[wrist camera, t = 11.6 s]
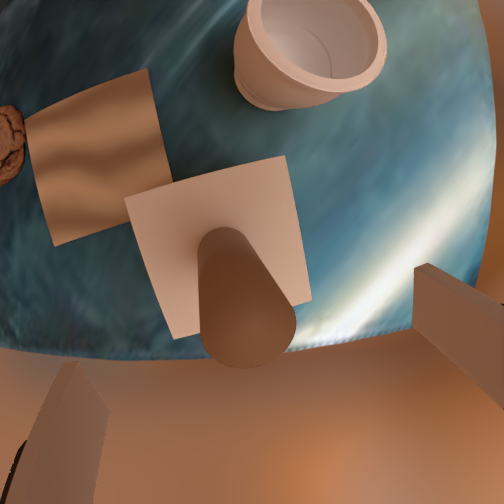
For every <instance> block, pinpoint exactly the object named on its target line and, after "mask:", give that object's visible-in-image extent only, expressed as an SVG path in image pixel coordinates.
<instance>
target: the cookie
mask: <svg viewBox="0 0 504 504" xmlns="http://www.w3.org/2000/svg"><path fill="white" fill-rule="evenodd" d="M23 122H24V120H23V116H22V112H20V111H18V110H16V108H15V107H14V106H10V105H8V106H2V107H0V187H1V186H2V185H4V184H5V183H8V182H9V181H10V180H12V179H13V178H14V177H15V176H16V175H17V174H18V173H19V172H20V170H21V168H22V164H23V163H24V148H23V147H24V143H27V140H26V128H25V124H23Z"/></svg>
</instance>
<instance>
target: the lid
mask: <svg viewBox="0 0 504 504" xmlns="http://www.w3.org/2000/svg"><path fill="white" fill-rule="evenodd" d="M124 200H125V204H126V207H127V210H128V214H129V217H130V220H131V224H132V227H133V230H134V233H135V236H136V240H137V243H138V246H139V249H140V252H141V255H142V258H143V260H144V263H145V266H146V269H147V272H148V275H149V277H150V280H151V283H152V286H153V288H154V291H155V294H156V296H157V299H158V302H159V304H160V307H161V309H162V312H163V314H164V317H165V319H166V322H167V324H168V327H169V329H170V331H171V334H172V336H173V339H178V338H182V337H186V336H190V335H194V334H197V333H200V336H201V341H202V344H203V346H204V348H205V349H206V351H207V352H208V354H209V355H210V356H211V357H212V358H214V359H215V360H216V361H218V362H220V363H221V364H224V365H226V366H229V367H233V368H241V369H246V368H255V367H259V366H262V365H265V364H267V363H269V362H271V361H273V360H274V359H276V358H277V357H279V356H280V355H281V354H282V353H283V352H284V351H285V350H286V349H287V348H288V346H289V345H290V343H291V341H292V339H293V337H294V334H295V330H296V316H295V312H294V310H293V307H292V306H295V305H299V304H302V303H305V302H308V301H311V300H312V297H311V291H310V285H309V279H308V273H307V267H306V261H305V255H304V250H303V244H302V239H301V233H300V228H299V223H298V217H297V212H296V207H295V202H294V197H293V192H292V187H291V182H290V178H289V173H288V168H287V163H286V159H285V155H284V156H278V157H273V158H269V159H264V160H259V161H255V162H251V163H246V164H242V165H238V166H234V167H230V168H226V169H222V170H218V171H214V172H210V173H206V174H202V175H198V176H195V177H191V178H188V179H184V180H180V181H177V182H173V183H170V184H167V185H163V186H160V187H157V188H153V189H150V190H147V191H144V192H140V193H137V194H134V195H131V196H128V197H125V198H124Z"/></svg>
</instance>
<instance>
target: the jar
mask: <svg viewBox="0 0 504 504" xmlns="http://www.w3.org/2000/svg"><path fill="white" fill-rule="evenodd" d="M386 55H387V41H386V36H385V32H384V28H383V26H382V23H381V21H380V19H379V17H378V15H377V14H376V12H375V11H374V9H373V8H372V6H371V5H370V4H369V3H368V1H367V0H248V3H247V7H246V13H245V15H244V16H243V18H242V20H241V22H240V24H239V26H238V29H237V31H236V35H235V39H234V64H235V69H234V78H235V82H236V85H237V88H238V90H239V91H240V93H241V94H242V96H243V97H244V98H245V99H246V100H247V101H249V102H250V103H251V104H253V105H254V106H256V107H258V108H261V109H264V110H269V111H281V110H286V109H297V108H308V107H313V106H317V105H320V104H323V103H326V102H328V101H330V100H332V99H334V98H336V97H337V96H339V95H340V94H342V93H346V92H351V91H354V90H358V89H360V88H363V87H365V86H367V85H368V84H370V83H371V82H372V81H373V80H374V79H375V78H376V77H377V76H378V75H379V74H380V72H381V70H382V68H383V66H384V64H385V60H386Z"/></svg>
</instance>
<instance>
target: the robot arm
mask: <svg viewBox="0 0 504 504" xmlns="http://www.w3.org/2000/svg"><path fill="white" fill-rule="evenodd" d="M412 327H414V328H415V329H416V330H417V331H418V332H419V333H421V334H422V335H423V336H424V337H425V338H426V339H427V340H429V341H430V342H431V343H432V344H433V345H434V346H435V347H436V348H438V349H439V350H440V351H441V352H442V353H443V354H444V355H445V356H447V357H448V358H449V359H450V360H451V361H452V362H453V363H454V364H455V365H456V366H458V367H459V368H460V369H461V370H462V371H463V372H464V373H465V374H466V375H467V376H468V377H469V378H471V379H472V380H473V381H474V382H475V383H476V384H477V385H478V386H479V387H480V388H481V389H482V390H483V391H485V393H486V394H488V395H489V396H490V397H491V398H492V399H493V400H494V401H495V402H496V403H497V404H498V405H499V406H500V407H501V408H502V409H503V410H504V304H499V303H498V302H496V301H494V300H493V299H491V298H490V297H488V296H486V295H484V294H483V293H481V292H479V291H478V290H476V289H474V288H473V287H471V286H469V285H467V284H466V283H464V282H462V281H460V280H459V279H457V278H455V277H453V276H451V275H450V274H448V273H446V272H444V271H442V270H441V269H439V268H437V267H435V266H433V265H431V264H429V263H426V264H423V265H421V266H418V267H416V268H414V293H413V314H412ZM110 413H111V410H110V409H109V408H108V406H107V404H106V403H105V402H104V400H103V399H102V397H101V396H100V394H99V393H98V391H97V390H96V388H95V387H94V385H93V384H92V382H91V380H90V379H89V377H88V376H87V374H86V373H85V371H84V370H83V368H82V366H81V364H80V363H79V361H74V362H67V363H63V365H62V367H61V369H60V371H59V372H58V374H57V376H56V378H55V380H54V382H53V384H52V386H51V388H50V390H49V392H48V395H47V397H46V399H45V401H44V403H43V405H42V407H41V410H40V412H39V414H38V416H37V418H36V421H35V423H34V425H33V428H32V430H31V432H30V435H29V437H28V439H27V440H26V441H25V442H24V443H23V444H22V446H21V447H20V448H19V449H18V451H17V454H16V457H15V459H14V464H13V465H12V467H11V470H10V471H11V473H9V475H8V478H7V481H6V484H5V487H4V490H3V493H2V497H1V500H0V504H93V499H94V492H95V486H96V480H97V474H98V469H99V464H100V459H101V454H102V449H103V444H104V439H105V435H106V430H107V426H108V422H109V417H110Z"/></svg>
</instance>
